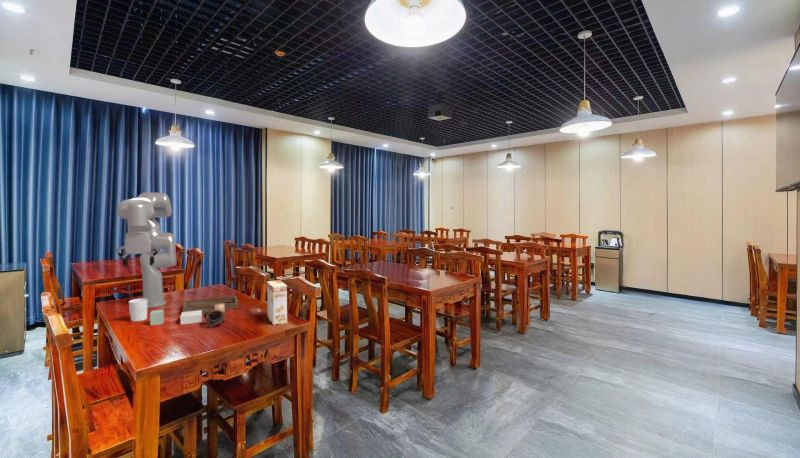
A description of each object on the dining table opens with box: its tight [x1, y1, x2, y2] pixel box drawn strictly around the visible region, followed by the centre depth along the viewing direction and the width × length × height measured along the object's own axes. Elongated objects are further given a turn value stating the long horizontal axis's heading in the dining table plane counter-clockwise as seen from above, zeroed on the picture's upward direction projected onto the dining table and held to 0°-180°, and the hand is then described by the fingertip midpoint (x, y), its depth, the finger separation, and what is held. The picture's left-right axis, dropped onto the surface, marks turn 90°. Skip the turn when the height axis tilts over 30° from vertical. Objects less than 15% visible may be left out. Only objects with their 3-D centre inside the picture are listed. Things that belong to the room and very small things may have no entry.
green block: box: [149, 309, 165, 326], centre depth 179 cm, size 5×5×6 cm
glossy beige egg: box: [213, 303, 226, 315], centre depth 195 cm, size 5×5×5 cm
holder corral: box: [182, 295, 239, 314], centre depth 206 cm, size 17×27×4 cm, turn 118°
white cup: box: [128, 298, 149, 322], centre depth 184 cm, size 8×8×10 cm
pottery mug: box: [203, 310, 226, 329], centre depth 177 cm, size 12×10×8 cm
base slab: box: [179, 310, 203, 325], centre depth 183 cm, size 9×9×4 cm
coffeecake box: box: [266, 279, 288, 326], centre depth 184 cm, size 15×7×20 cm, turn 31°
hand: (139, 265), depth 169 cm, fingers open, 9 cm apart
